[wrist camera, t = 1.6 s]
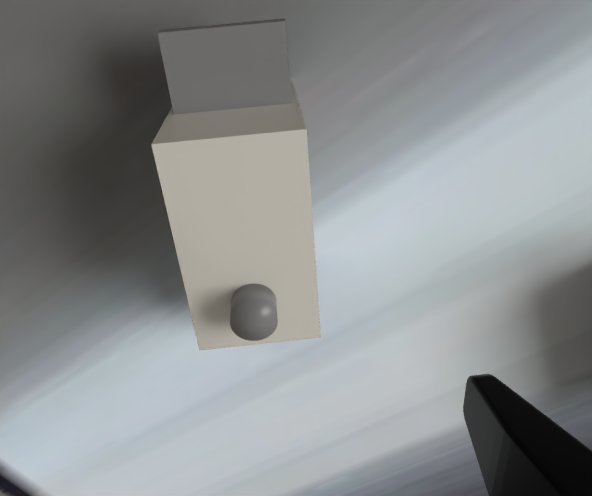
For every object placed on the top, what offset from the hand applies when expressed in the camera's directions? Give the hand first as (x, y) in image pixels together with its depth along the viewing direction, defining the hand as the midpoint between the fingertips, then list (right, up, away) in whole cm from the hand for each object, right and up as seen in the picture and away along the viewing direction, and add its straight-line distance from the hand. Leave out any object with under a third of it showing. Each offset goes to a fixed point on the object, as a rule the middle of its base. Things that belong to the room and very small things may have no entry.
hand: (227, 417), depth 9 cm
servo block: (-1, +6, +11) cm, 12 cm away
